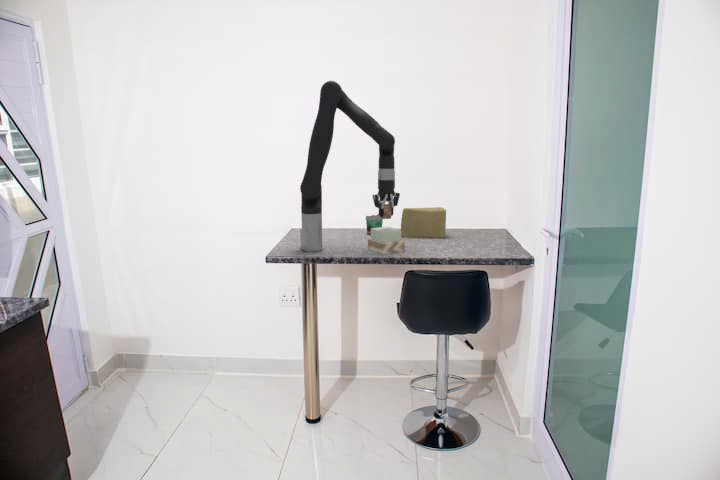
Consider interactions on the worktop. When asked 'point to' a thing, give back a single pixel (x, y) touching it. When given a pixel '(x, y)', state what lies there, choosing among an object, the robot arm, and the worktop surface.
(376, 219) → the food container
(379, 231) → the top block
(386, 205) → the round block
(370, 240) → the bottom block
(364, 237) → the worktop surface
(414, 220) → the cheese
